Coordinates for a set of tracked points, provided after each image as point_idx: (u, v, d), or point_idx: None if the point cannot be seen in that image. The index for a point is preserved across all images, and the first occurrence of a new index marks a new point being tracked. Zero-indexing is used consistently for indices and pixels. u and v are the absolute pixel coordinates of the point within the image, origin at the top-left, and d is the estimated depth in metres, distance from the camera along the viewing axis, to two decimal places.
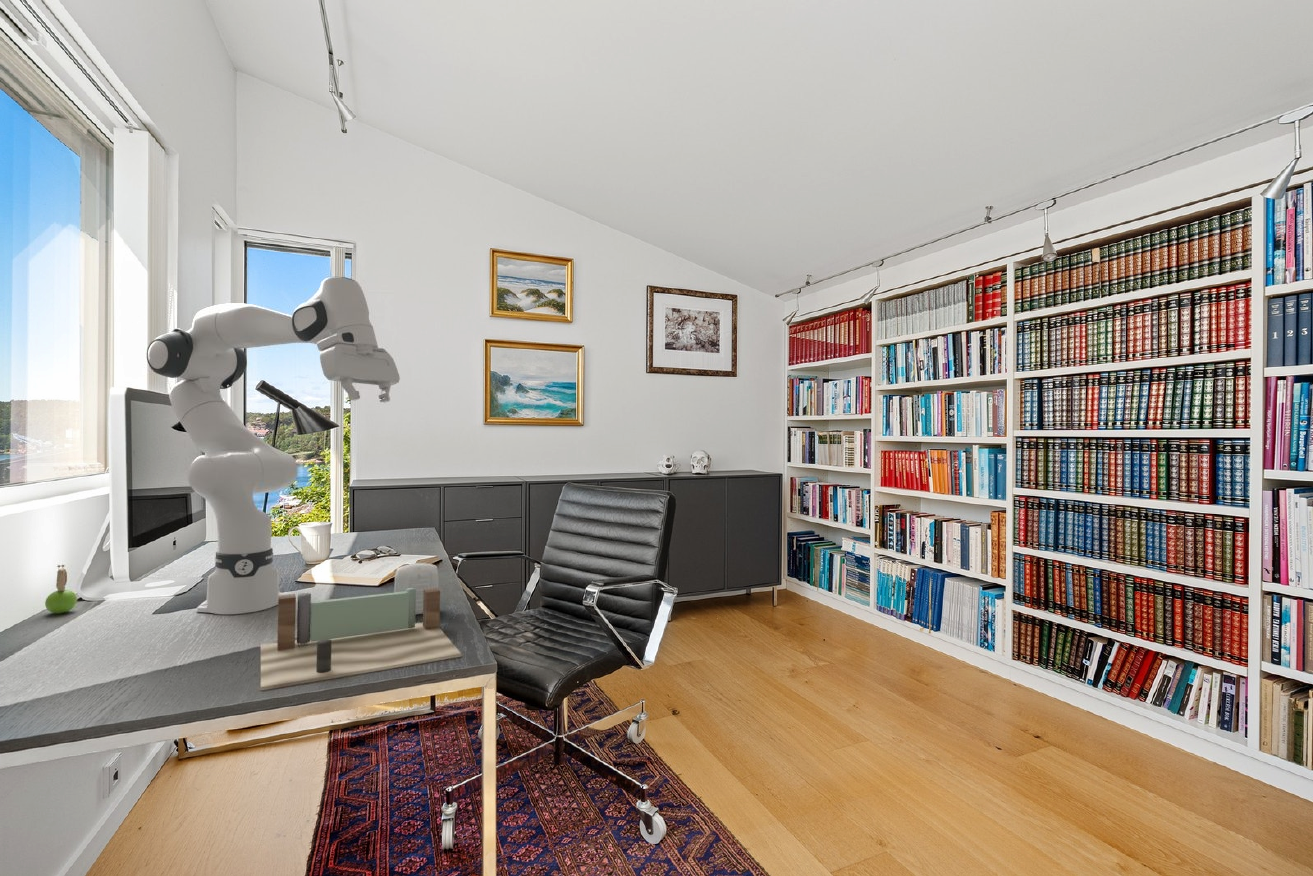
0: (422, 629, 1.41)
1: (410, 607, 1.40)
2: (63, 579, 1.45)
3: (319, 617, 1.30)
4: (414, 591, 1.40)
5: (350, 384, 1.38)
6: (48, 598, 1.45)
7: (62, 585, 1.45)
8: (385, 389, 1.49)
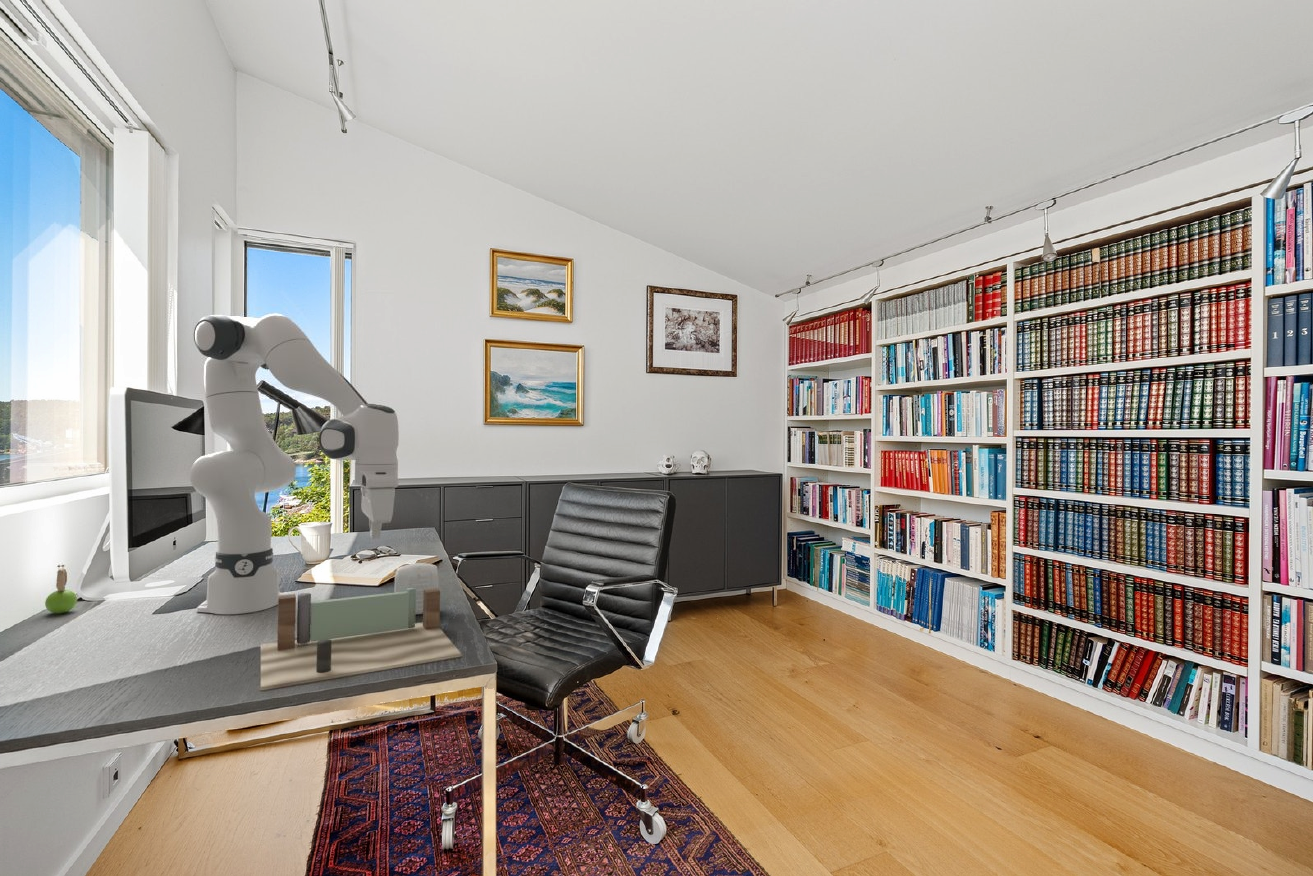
0: (422, 629, 1.41)
1: (410, 607, 1.40)
2: (63, 579, 1.45)
3: (319, 617, 1.30)
4: (414, 591, 1.40)
5: (381, 524, 1.40)
6: (48, 598, 1.45)
7: (62, 585, 1.45)
8: None
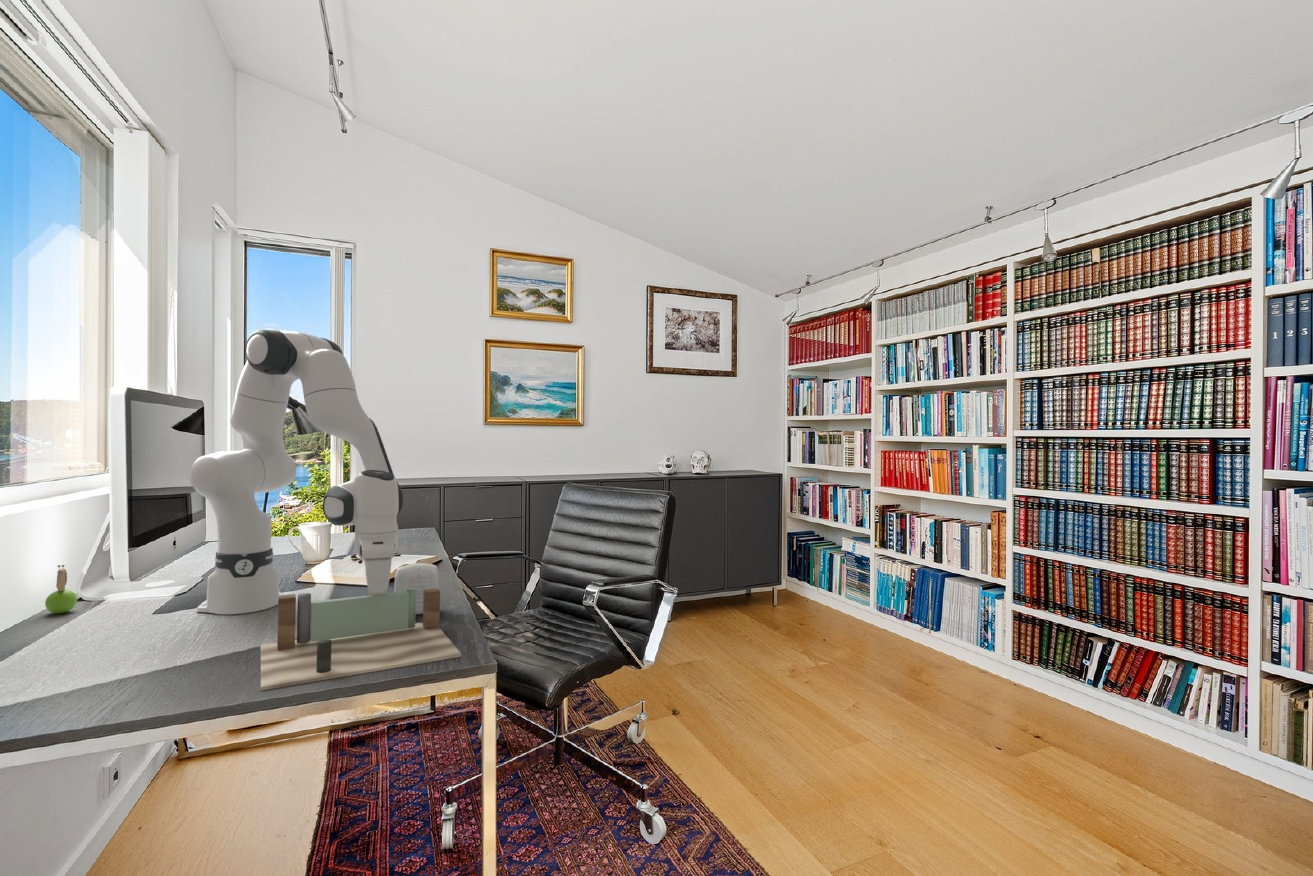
0: (422, 629, 1.41)
1: (410, 607, 1.40)
2: (63, 579, 1.45)
3: (319, 617, 1.30)
4: (414, 591, 1.40)
5: None
6: (48, 598, 1.45)
7: (62, 585, 1.45)
8: None
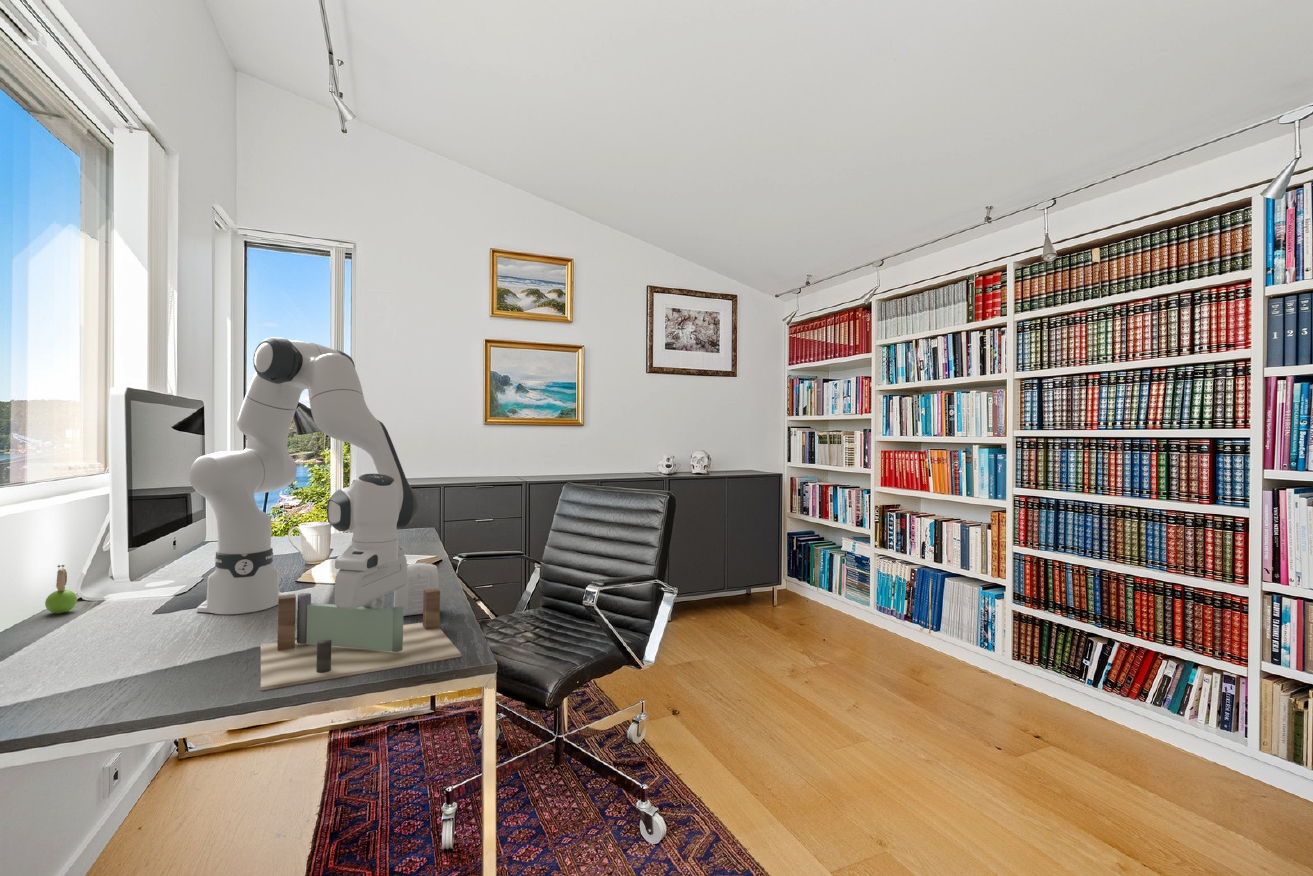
0: (422, 629, 1.41)
1: (394, 629, 1.25)
2: (63, 579, 1.45)
3: (313, 620, 1.28)
4: (398, 611, 1.25)
5: (373, 606, 1.28)
6: (48, 598, 1.45)
7: (62, 585, 1.45)
8: (378, 603, 1.31)
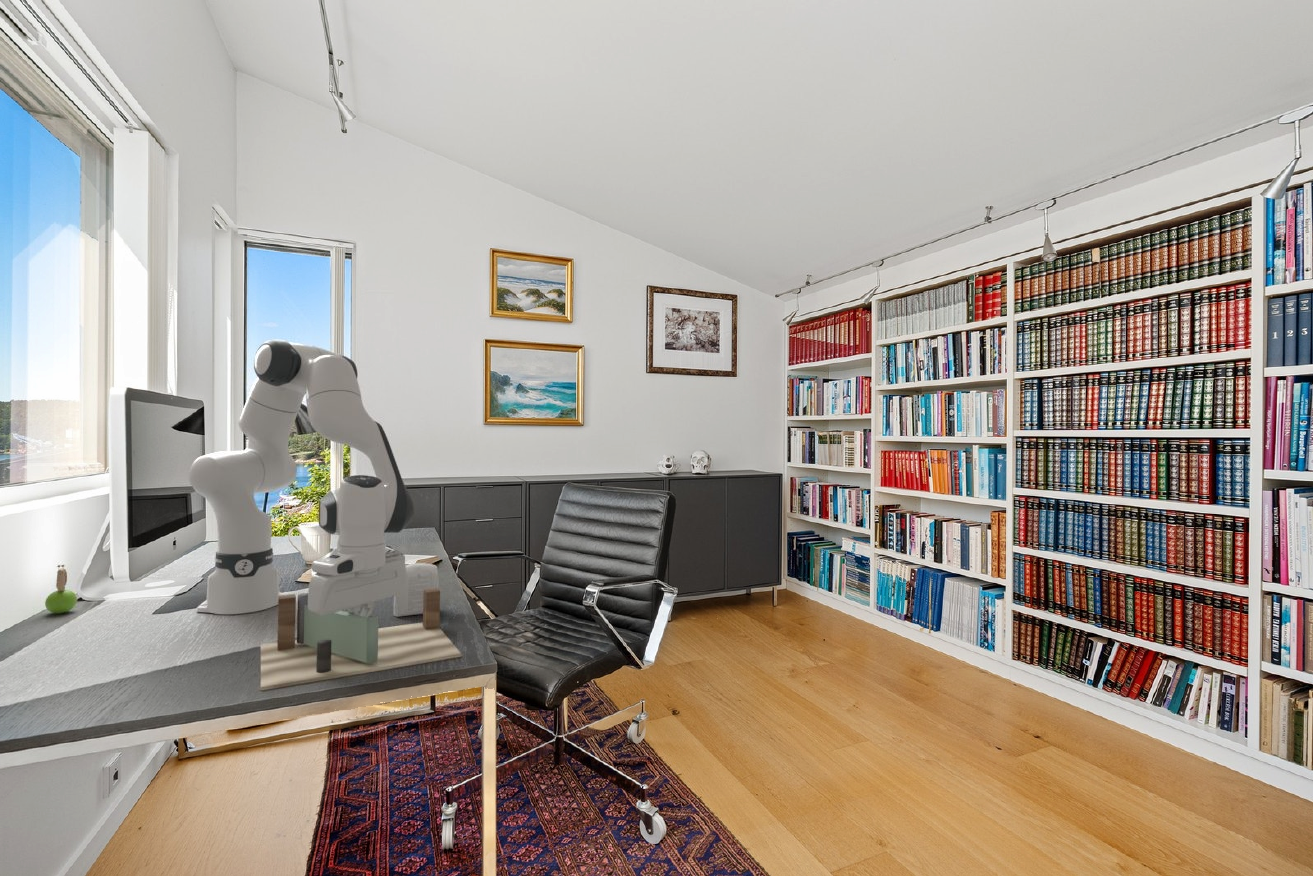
0: (422, 629, 1.41)
1: (368, 639, 1.19)
2: (63, 579, 1.45)
3: (308, 621, 1.27)
4: (371, 621, 1.19)
5: (356, 613, 1.23)
6: (48, 598, 1.45)
7: (62, 585, 1.45)
8: (366, 609, 1.26)
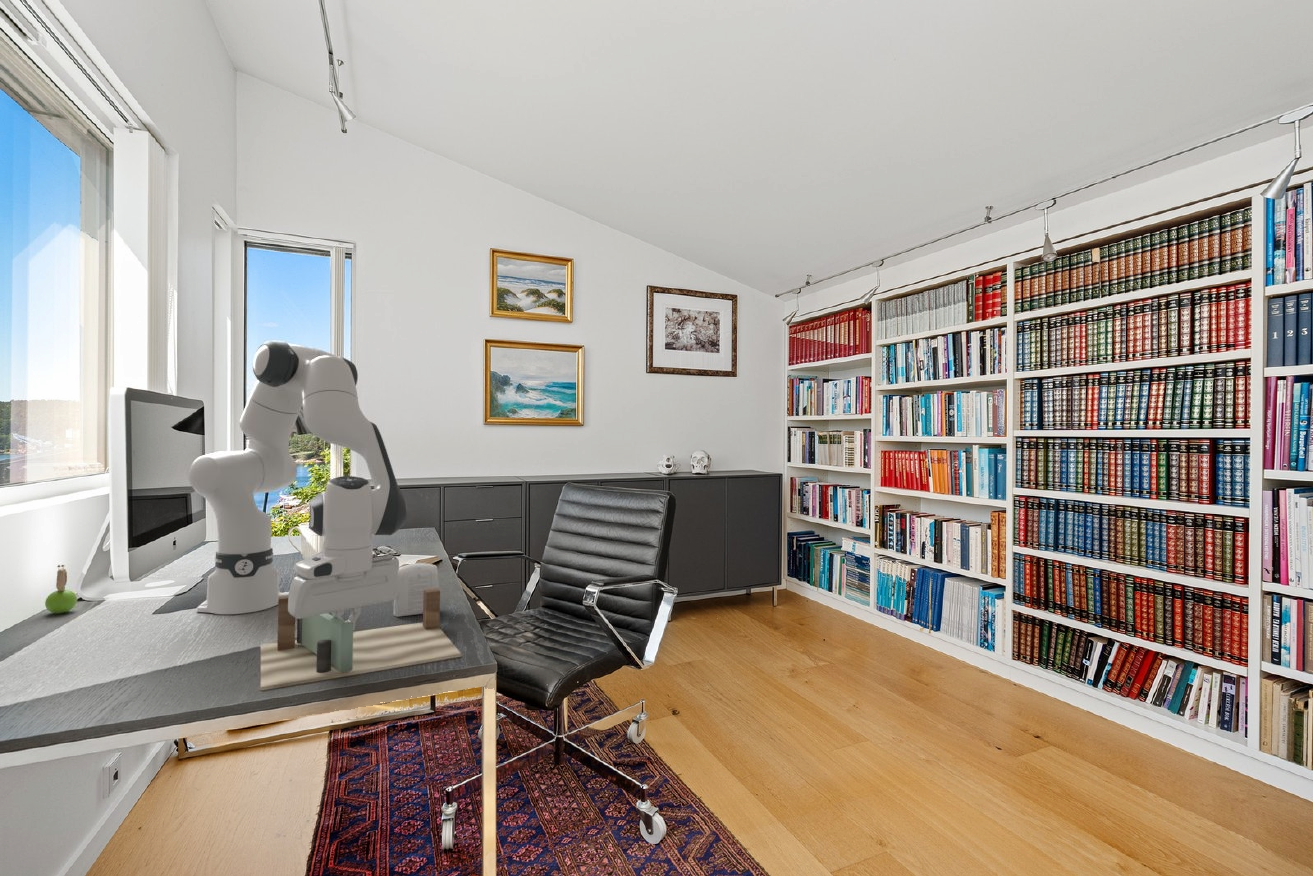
0: (422, 629, 1.41)
1: (342, 646, 1.15)
2: (63, 579, 1.45)
3: (304, 622, 1.27)
4: (344, 627, 1.14)
5: (339, 618, 1.20)
6: (48, 598, 1.45)
7: (62, 585, 1.45)
8: (354, 614, 1.23)
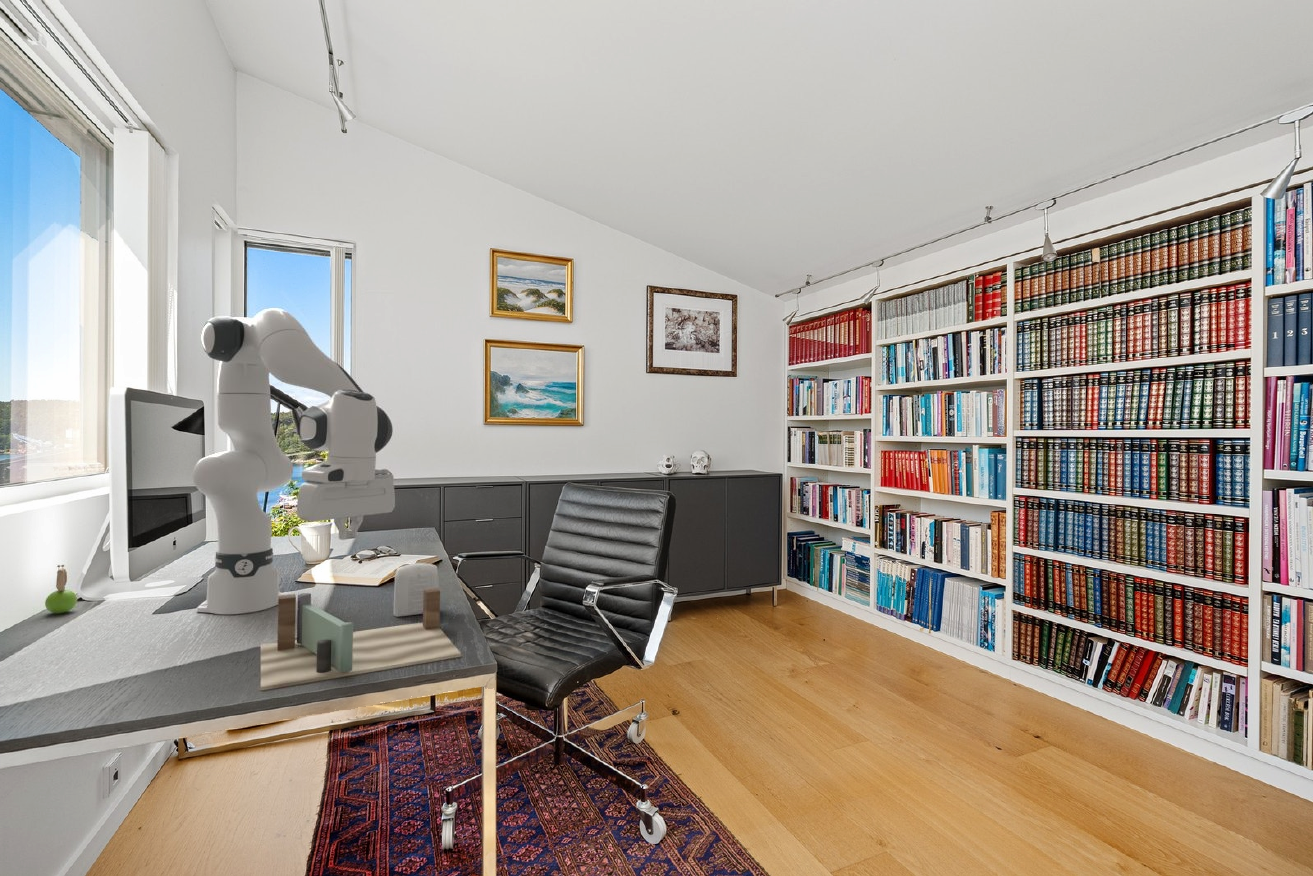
0: (422, 629, 1.41)
1: (342, 646, 1.15)
2: (63, 579, 1.45)
3: (304, 622, 1.27)
4: (344, 627, 1.14)
5: (342, 525, 1.24)
6: (48, 598, 1.45)
7: (62, 585, 1.45)
8: (355, 523, 1.28)
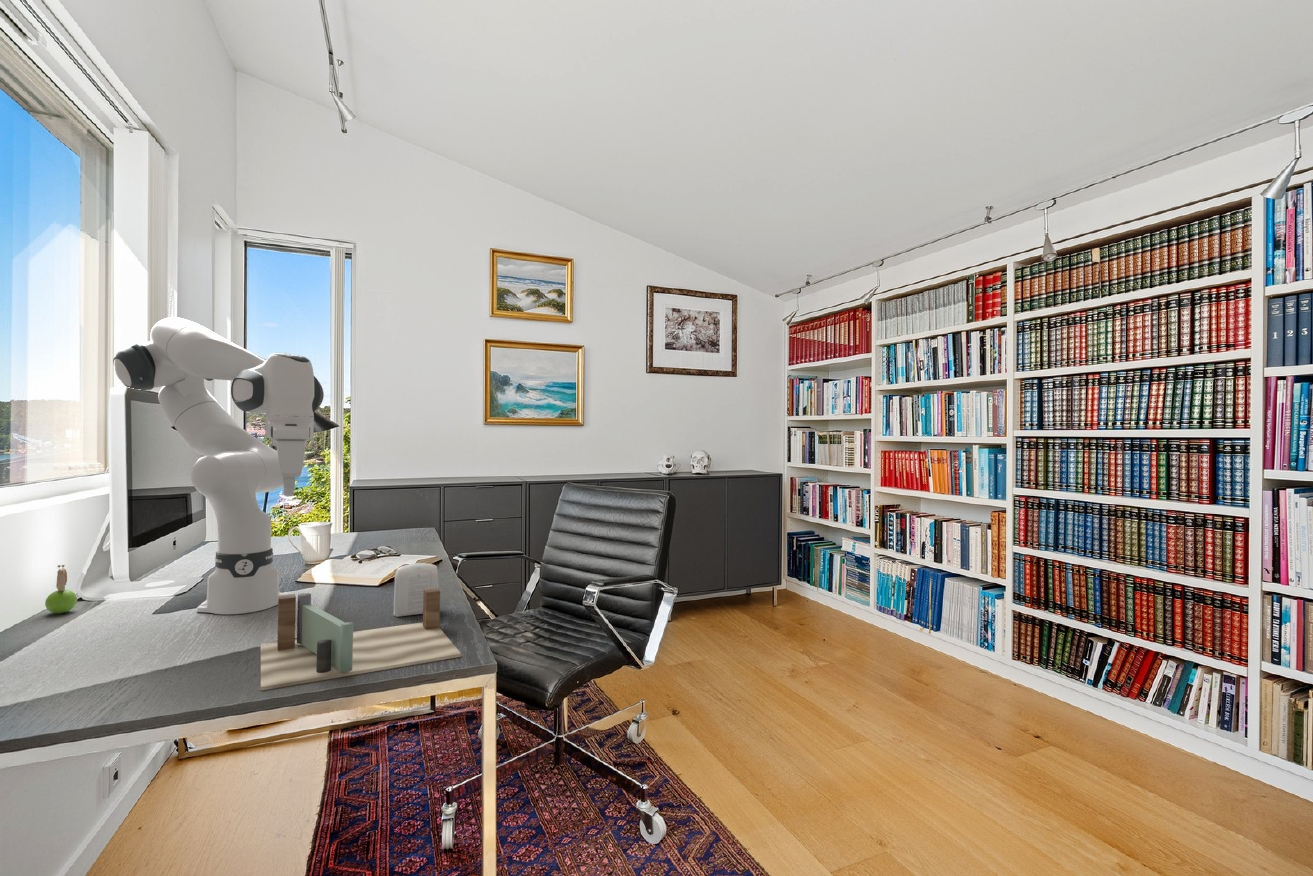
0: (422, 629, 1.41)
1: (342, 646, 1.15)
2: (63, 579, 1.45)
3: (304, 622, 1.27)
4: (344, 627, 1.14)
5: (294, 481, 1.31)
6: (48, 598, 1.45)
7: (62, 585, 1.45)
8: None
